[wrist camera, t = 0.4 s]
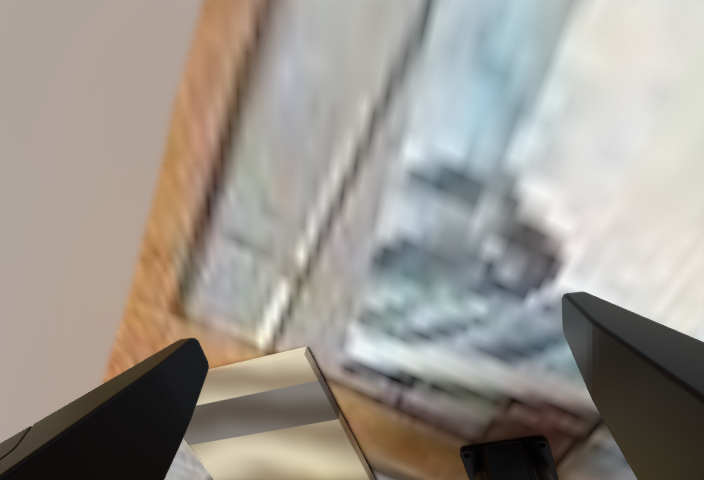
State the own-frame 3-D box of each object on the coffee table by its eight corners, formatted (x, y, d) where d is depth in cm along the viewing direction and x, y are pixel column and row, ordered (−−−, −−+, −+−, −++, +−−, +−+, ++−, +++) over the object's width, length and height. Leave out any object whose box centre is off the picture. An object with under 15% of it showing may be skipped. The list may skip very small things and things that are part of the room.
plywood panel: (395, 518, 34) (395, 528, 33) (261, 531, 38) (258, 540, 37) (306, 346, 27) (304, 354, 27) (153, 382, 31) (147, 389, 30)
